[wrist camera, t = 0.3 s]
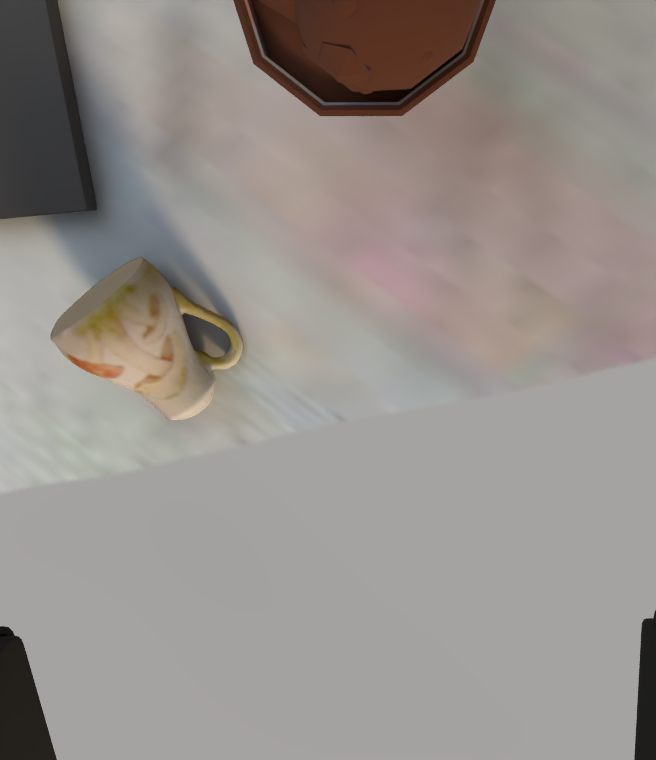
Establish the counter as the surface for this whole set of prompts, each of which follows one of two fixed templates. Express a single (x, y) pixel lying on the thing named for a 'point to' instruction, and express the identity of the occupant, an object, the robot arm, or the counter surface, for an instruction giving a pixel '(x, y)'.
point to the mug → (144, 339)
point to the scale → (39, 116)
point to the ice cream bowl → (363, 49)
